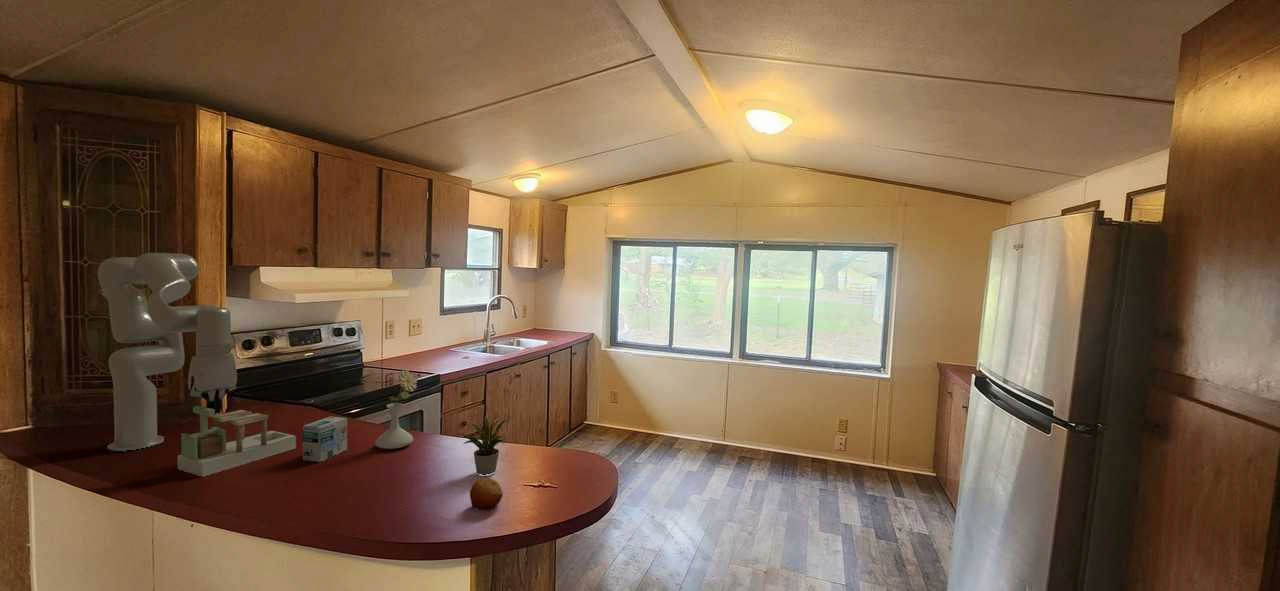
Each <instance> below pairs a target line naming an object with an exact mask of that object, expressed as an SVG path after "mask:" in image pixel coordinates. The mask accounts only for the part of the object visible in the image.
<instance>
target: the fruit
mask: <svg viewBox="0 0 1280 591" xmlns="http://www.w3.org/2000/svg"><path fill="white" fill-rule="evenodd" d="M469 497H470V498H469V499H470V503H471V509H472V510H474V509H477V510H479V511H492V510H494V509H495V508H496V507H497V506H498V505H499V504H500V502H501V500H502V499H503V490H502V487H501V485H500V484H499V482H497V481H496V480H495V479H492V478H490V477H481V478H478V479H477V480H476V481H475V482H474V483H473V484H472V485H471V488H470V491H469ZM491 509H492V510H491Z"/></svg>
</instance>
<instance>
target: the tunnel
mask: <svg viewBox="0 0 1280 591" xmlns="http://www.w3.org/2000/svg"><path fill="white" fill-rule="evenodd" d="M268 419H269V415H267V414H263V413H258V412H256V413H253V411H250V410H249V411H248V410H244V409H239V410H235V411H232V412H226V413H221V414H215V415H213V416H211V421H213V426H212V427H217V428H220V426H221V424H220V422H221V423H225V422H227V425H229V424H230V425H234V426H235V438H236V439H235V440H236V452H242V440H243V439H244V438H245V425H247V424H252V423H257V422H259V421H260V434H261V445H266V444H267V432H268V430H267V429H268V428H267V427H268V426H267V424H268V423H267V422H268Z"/></svg>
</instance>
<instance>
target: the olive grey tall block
mask: <svg viewBox="0 0 1280 591" xmlns="http://www.w3.org/2000/svg"><path fill="white" fill-rule="evenodd" d="M192 412H193V413H194V414H199V429H200V430H199V432H195V433H190V434H189V433H183V432H182V433H181V441H180V442H181V455H182V456H184V457H187V458H191V459H194V460H196V459H198V449H197V437H199V436H204V435H208V434H216V435H220V436H222V451H223V452H224V451H226V443H227V430H226V429H224V428H217V427H214V426H210V427H209V428H210V429H209V428H208V426H209V425H208V423H209V422H208V418H209V417H212V416H216V414H215V409H210V408H206V407H204V406H200V405H196V406H193V407H192Z"/></svg>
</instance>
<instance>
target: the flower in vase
mask: <svg viewBox="0 0 1280 591" xmlns="http://www.w3.org/2000/svg"><path fill="white" fill-rule="evenodd" d="M398 382H399V385H400V386H401V387H400V388H401V389H399V390H400V391H399V394H398V396H397V397H394V396H391V395H390V396H389V400H390V401H395V402H394V403H389V404H386V407H387V409H388V411H389V414H390V425H389V428H388V429H387V430H386V431H384V433H382V434H381V435H380V436H378V437H377V439H376V440H375V443H374V445H375V446H376V447H377V448H379V449H384V450H391V449H393V450H394V449H399V448H403V447H406V446H408V445H410V444H412V443H413V441H414V436H413V435H412V434H411V433H410V432H408V431H406V430H405V429H403V428H401V427H400V424H399V418H400V417H399V416H400V412H401V409H402V408H403V406H404V404H403V403H400V402H398V401H399V398H400V397H401V398H402V399H403V400H406V399H408V398H410V396H411V394H410V393H413V392H414V390H416V389H417V387H418V386H417V383H418V381H417V380H416V378H415V375H414V374H413V373H411V372H410V371H409V370H407V369H406V370H404V369H402V370H401V371H400V373H399V375H398ZM402 390H403V391H402ZM409 392H410V393H409Z"/></svg>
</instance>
